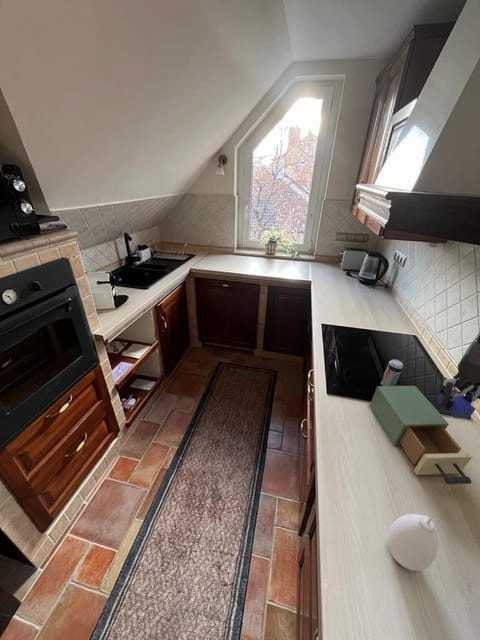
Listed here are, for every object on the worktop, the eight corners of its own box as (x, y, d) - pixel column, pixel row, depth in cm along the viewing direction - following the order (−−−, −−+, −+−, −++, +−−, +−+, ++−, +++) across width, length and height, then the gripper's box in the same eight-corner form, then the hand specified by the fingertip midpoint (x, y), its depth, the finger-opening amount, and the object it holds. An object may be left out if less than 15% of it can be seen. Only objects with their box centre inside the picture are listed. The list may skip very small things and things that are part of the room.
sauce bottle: (416, 590, 52) (455, 554, 43) (376, 555, 56) (404, 516, 47) (424, 554, 57) (461, 515, 48) (387, 525, 61) (414, 484, 52)
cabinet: (435, 444, 80) (449, 423, 76) (393, 445, 80) (404, 424, 75) (405, 405, 94) (415, 385, 89) (369, 405, 93) (377, 386, 89)
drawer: (474, 492, 67) (489, 476, 63) (428, 494, 67) (440, 477, 63) (424, 428, 84) (434, 412, 80) (387, 429, 84) (395, 413, 80)
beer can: (383, 379, 106) (393, 357, 100) (395, 386, 103) (406, 363, 97) (378, 384, 103) (387, 361, 97) (390, 391, 100) (401, 368, 94)
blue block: (436, 399, 74) (441, 390, 72) (451, 399, 74) (456, 390, 72) (453, 418, 68) (460, 409, 66) (469, 417, 68) (476, 408, 67)
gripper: (469, 369, 59) (438, 419, 67) (526, 369, 60) (489, 419, 68) (445, 350, 65) (419, 397, 74) (497, 350, 66) (466, 397, 74)
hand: (453, 407), depth 71 cm, fingers closed on blue block, 4 cm apart
